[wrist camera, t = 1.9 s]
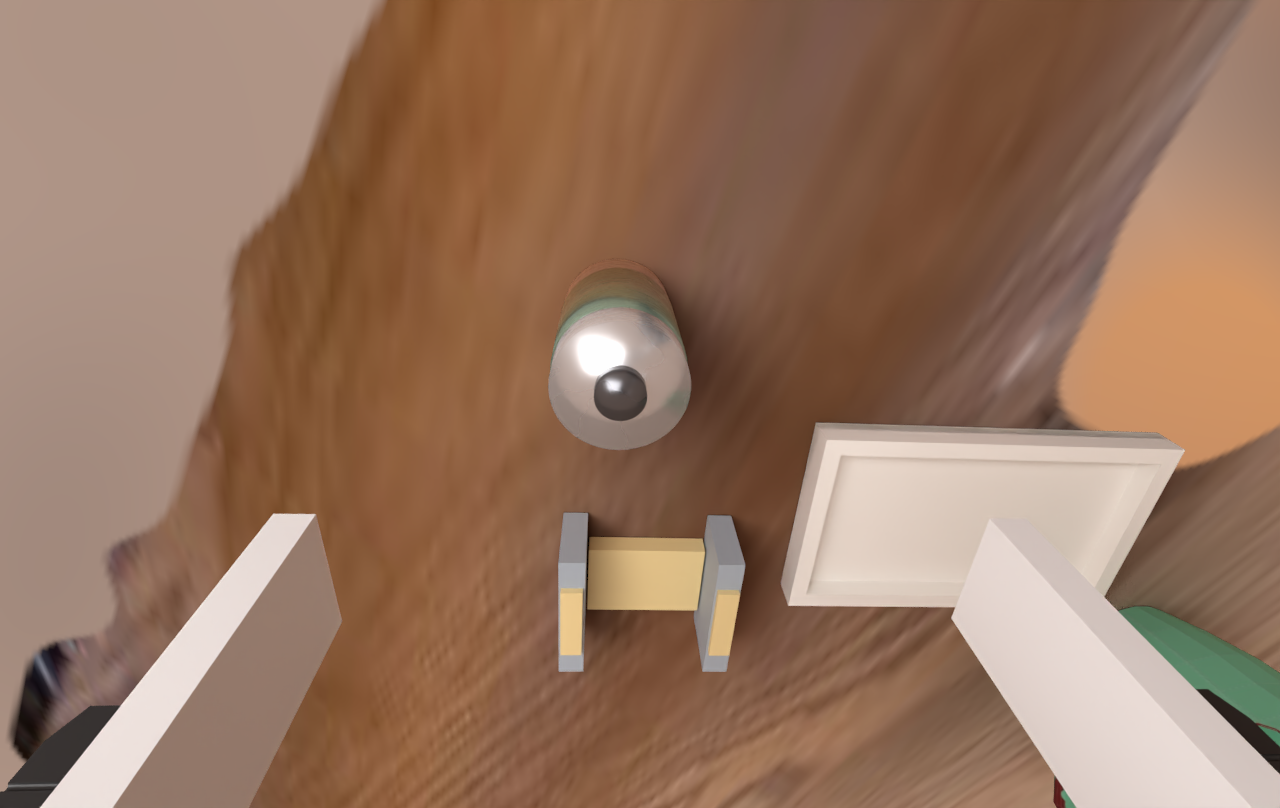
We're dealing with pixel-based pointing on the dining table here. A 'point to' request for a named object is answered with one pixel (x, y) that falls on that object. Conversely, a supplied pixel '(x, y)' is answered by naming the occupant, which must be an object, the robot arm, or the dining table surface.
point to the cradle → (651, 583)
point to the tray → (961, 506)
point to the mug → (1207, 671)
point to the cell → (618, 358)
